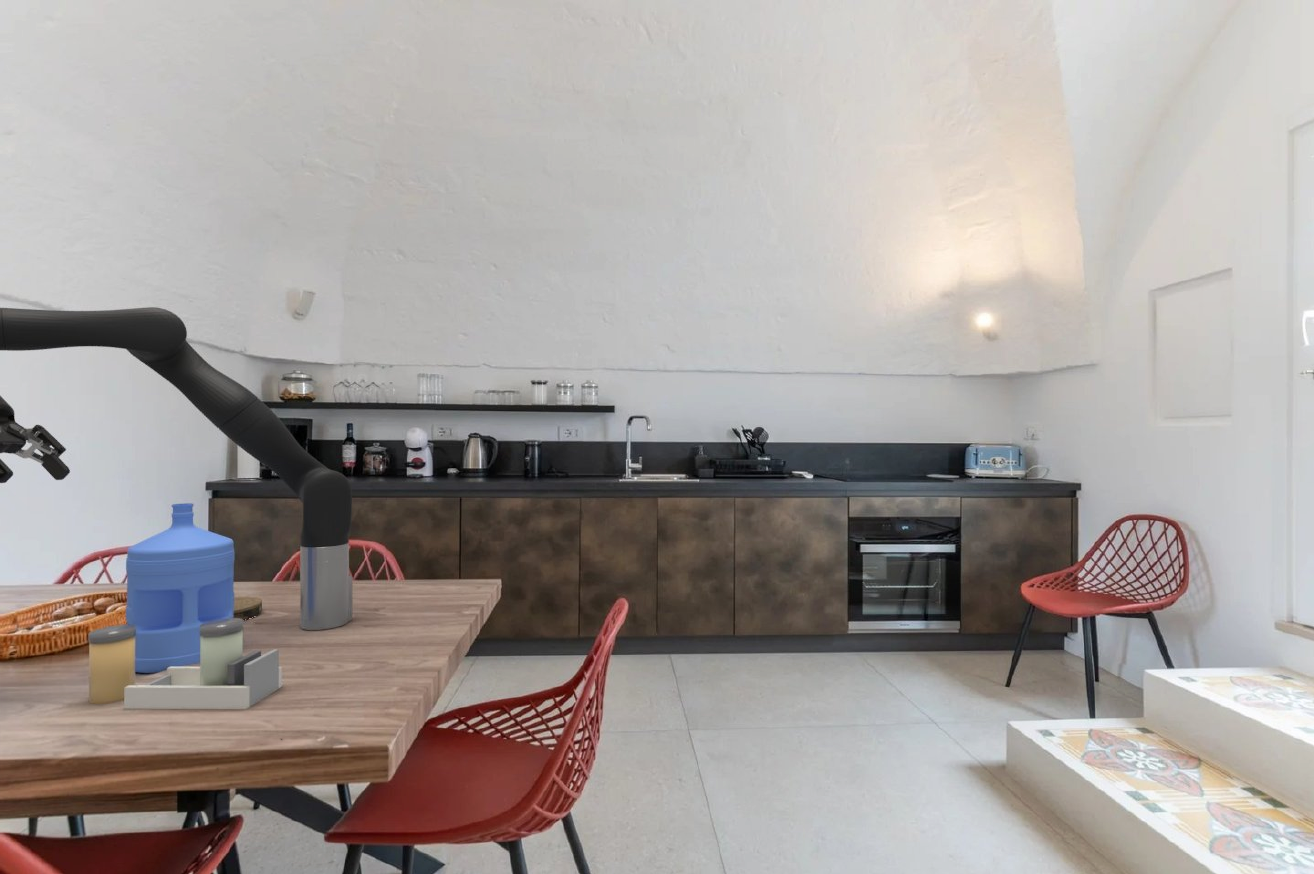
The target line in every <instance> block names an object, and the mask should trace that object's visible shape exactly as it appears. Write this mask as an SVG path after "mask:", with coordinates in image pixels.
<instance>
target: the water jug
mask: <svg viewBox="0 0 1314 874" xmlns="http://www.w3.org/2000/svg"><path fill="white" fill-rule="evenodd" d="M171 507H172V513H171V519H172V520H171V522H172V523H171V525H170V527H169V528H167V529H165V530H163V531H161V532H158V533H156V534H155V535H154V534H153V535H152V536H150V537H148V538H146V539H144V540H142V541H140V542H137V543H136V544H134V545H131V546H130V547H128V549H127V553H126V554H127V555H126V556H127V557H126V561H125V570H126V606H125V620H126V625H135V626H136V635H135V673H140V674H141V673H142V674H157V673H162V672H164V671H167V668H169V667H171V666H190V665H193V664H197V663H200V625H201V624H203V623H206V622H210V621H214V620H219V619H228V618H233V606H234V597H235V592H234V580H235V579H234V578H235V577H234V572H235V571H234V570H235V569H234V563H235V559H236V558H235V556H236V555H235V547H234V540H233V539H232V538H231V537H230V538H229V537H228V536H224V535H221V534H218V533H215V532H212V531H210V530H207V529H204V528H201V527H198V526H196V525H195V524H194V514H195V513H194V511H193V510H194V509H193V507H194V503H190V502H189V503H186V502H185V503H174V504H171Z"/></svg>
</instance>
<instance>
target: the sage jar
mask: <svg viewBox="0 0 1314 874" xmlns="http://www.w3.org/2000/svg"><path fill="white" fill-rule="evenodd" d="M243 630H244V621H243V619H240V618H228V619H219V620H214V621H210V622H206V623H203V624H201V625H200V662H199V663H200V665H199V667H200V686H227V669H228V664H230V663H232V662H234V661H236V660H237V659H239V658H241V657H243V656H244V655H243V654H244V653H243V651H244V650H243V649H244V647H243V645H244V644H243V640H244V633H243V632H244V631H243Z"/></svg>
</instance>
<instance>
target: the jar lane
mask: <svg viewBox="0 0 1314 874" xmlns="http://www.w3.org/2000/svg"><path fill="white" fill-rule="evenodd" d="M279 657H280V650H279V649H277V648H276V649H272V650H270V651H268V652H266V653H263V654H261V656H260V657H258V658H256V659H254V660H252V661H251V662H249V663H247V664H245V665H244V686H200V666H188V665H184V666H171V667H169V668H167V670H166V674H164V675H163V676H161V677H159V678H157V679H154V680H152V681H149V682H148V683H145V684H143V685H139V684H138V685H136V684H135V685H129V686H127V687H124V699H123V700H124V701H123V702H124V703H123V706H124V707H123V708H124V709H125V710H130V709H131V710H247V709H249V708H250V707H252V706H253V705H255V704H257V703H258V702H260V701H261V700H262V699H264V698H266V697H267V696H269V695H271V694H272V693H273V692H275V691H278V689H280V688H281V687H283V667H282V666H280V661H279V660H280V659H279Z"/></svg>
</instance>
